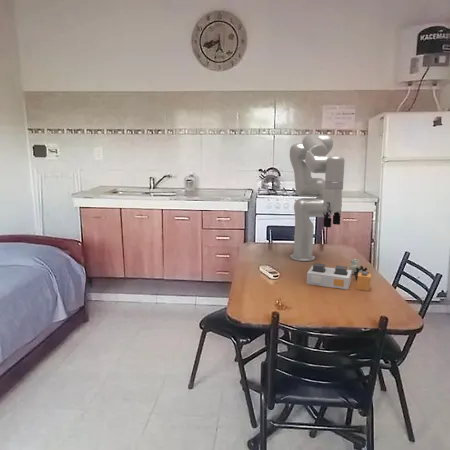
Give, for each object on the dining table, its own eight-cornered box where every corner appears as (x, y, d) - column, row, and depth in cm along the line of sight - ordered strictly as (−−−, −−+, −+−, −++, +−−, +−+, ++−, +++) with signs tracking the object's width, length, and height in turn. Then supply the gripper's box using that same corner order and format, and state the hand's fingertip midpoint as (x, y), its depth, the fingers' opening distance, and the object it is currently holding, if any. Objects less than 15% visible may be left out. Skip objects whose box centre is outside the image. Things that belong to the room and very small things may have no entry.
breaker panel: (311, 275, 199) (312, 265, 198) (351, 281, 193) (351, 270, 192) (306, 284, 188) (307, 273, 186) (348, 289, 181) (349, 278, 180)
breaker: (314, 272, 194) (314, 262, 193) (324, 273, 192) (325, 264, 192) (312, 275, 190) (313, 265, 189) (322, 276, 188) (323, 266, 187)
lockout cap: (357, 285, 187) (359, 269, 185) (369, 287, 185) (371, 271, 184) (356, 289, 182) (358, 273, 181) (369, 291, 181) (370, 274, 179)
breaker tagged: (336, 275, 191) (336, 265, 190) (346, 276, 189) (347, 266, 188) (334, 278, 187) (335, 268, 186) (345, 279, 185) (346, 269, 184)
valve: (345, 272, 206) (353, 280, 194) (346, 258, 204) (354, 266, 193) (359, 272, 206) (368, 280, 194) (360, 258, 205) (369, 266, 193)
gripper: (333, 184, 193) (331, 222, 196) (317, 186, 179) (315, 227, 182) (350, 185, 189) (347, 224, 191) (334, 187, 175) (332, 229, 178)
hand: (331, 225), depth 187 cm, fingers open, 9 cm apart
